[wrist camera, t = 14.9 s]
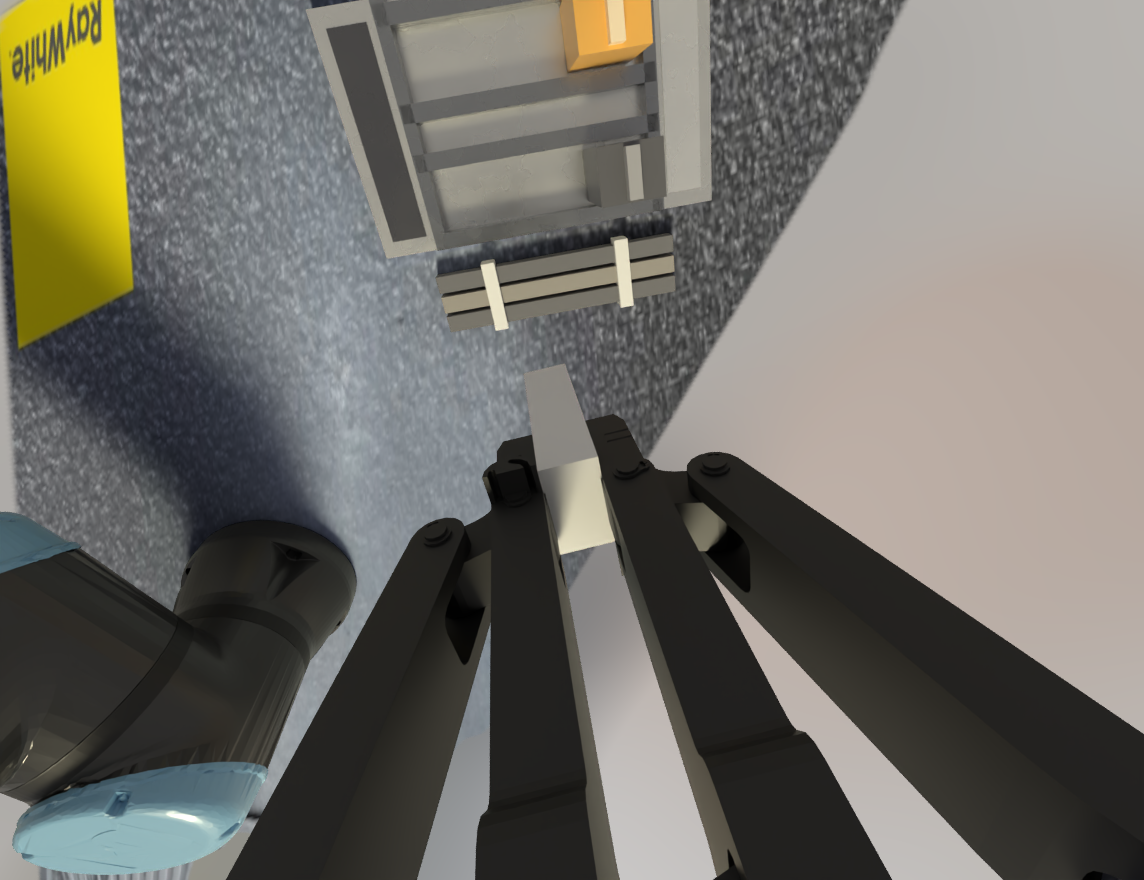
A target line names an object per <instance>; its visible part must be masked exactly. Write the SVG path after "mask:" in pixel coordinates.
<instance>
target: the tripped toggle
mask: <svg viewBox="0 0 1144 880" xmlns="http://www.w3.org/2000/svg"><path fill="white" fill-rule="evenodd" d="M560 16H561V24H562V32H563V40H564V48H565V55H566V63H567V71H568V73H570V72H576V71H581V70H587V69H593V68H598V67H604V66H610V65H616V64H621V63H627V62H630V61H631V60H633V59H634V58H635V57H636V56H638V55H639V54H640V53H641V52H642V51H644V50H645V49H646V48H647V47H649V46H650V45H651V44H652V43H653V33H652V15H651V0H562V2H561V5H560Z"/></svg>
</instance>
